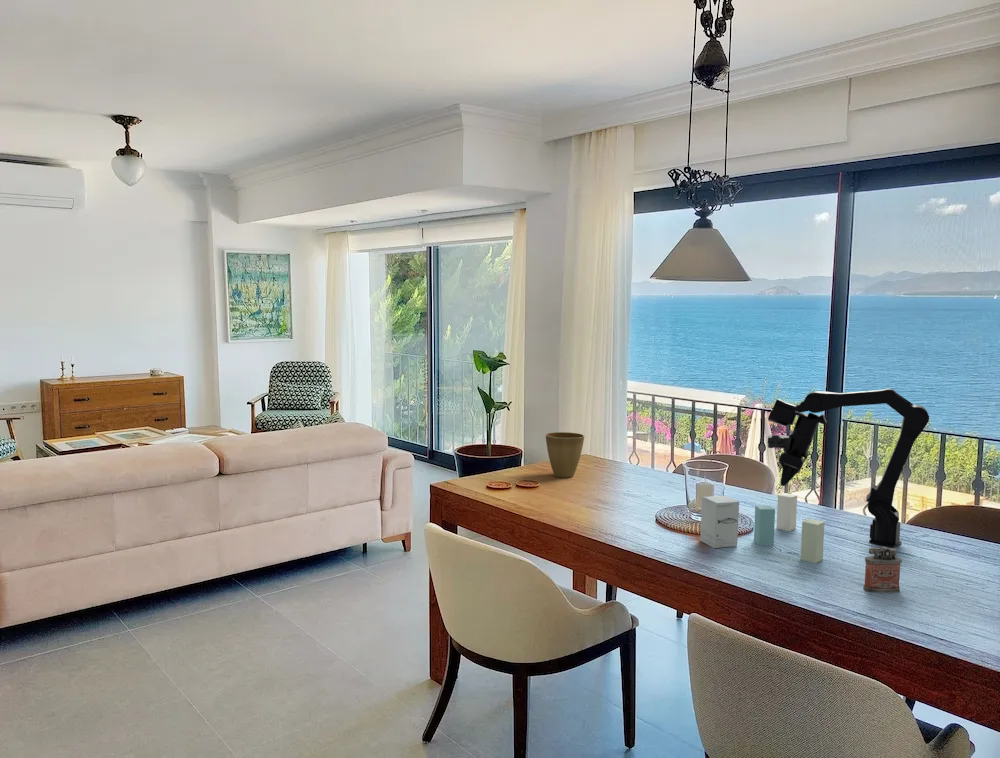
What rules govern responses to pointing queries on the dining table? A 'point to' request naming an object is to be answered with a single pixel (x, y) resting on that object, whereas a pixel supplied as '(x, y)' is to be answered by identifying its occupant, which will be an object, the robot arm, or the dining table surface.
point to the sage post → (812, 540)
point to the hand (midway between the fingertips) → (784, 482)
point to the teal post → (764, 525)
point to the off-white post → (786, 511)
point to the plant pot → (564, 452)
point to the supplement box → (719, 521)
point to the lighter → (882, 571)
